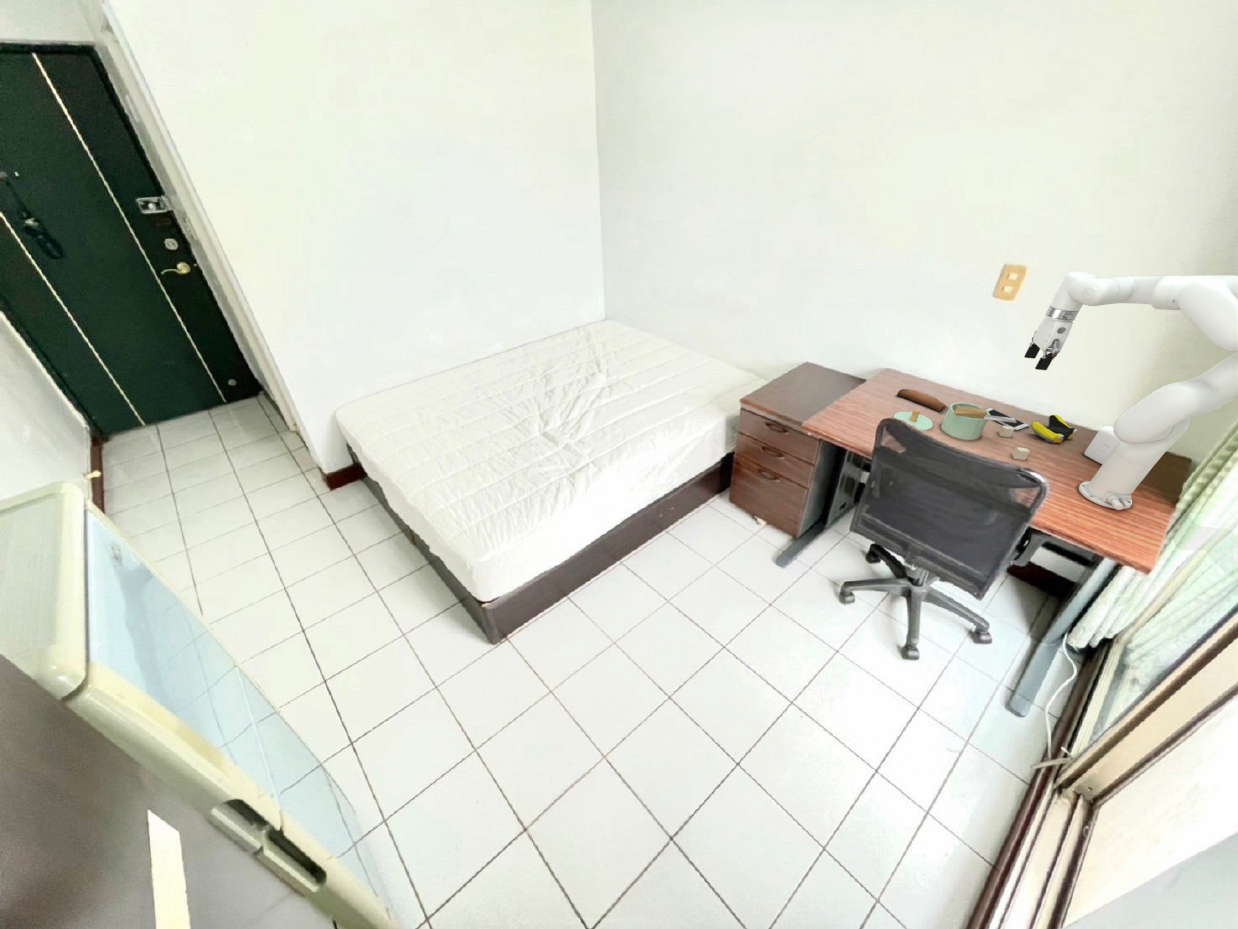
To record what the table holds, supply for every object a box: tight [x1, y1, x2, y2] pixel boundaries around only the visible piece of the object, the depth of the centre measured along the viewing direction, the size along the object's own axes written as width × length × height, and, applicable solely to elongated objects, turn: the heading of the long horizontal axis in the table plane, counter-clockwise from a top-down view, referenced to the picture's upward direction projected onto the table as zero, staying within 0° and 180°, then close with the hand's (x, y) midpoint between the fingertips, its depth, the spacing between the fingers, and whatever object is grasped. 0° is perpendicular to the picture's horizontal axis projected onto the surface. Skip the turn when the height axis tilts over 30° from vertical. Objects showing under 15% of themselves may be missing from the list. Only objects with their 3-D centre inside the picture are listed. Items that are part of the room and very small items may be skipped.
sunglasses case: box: [896, 388, 948, 414], centre depth 199 cm, size 18×7×7 cm
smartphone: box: [985, 407, 1029, 431], centre depth 188 cm, size 8×1×15 cm
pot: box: [940, 401, 990, 441], centre depth 179 cm, size 13×13×9 cm
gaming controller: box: [1030, 414, 1078, 444], centre depth 177 cm, size 15×6×10 cm
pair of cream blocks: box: [998, 425, 1030, 461], centre depth 172 cm, size 17×3×4 cm, turn 163°
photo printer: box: [1083, 425, 1120, 465], centre depth 162 cm, size 10×4×12 cm, turn 14°
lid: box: [892, 408, 934, 432], centre depth 185 cm, size 14×14×6 cm
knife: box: [954, 406, 1017, 423], centre depth 172 cm, size 3×19×3 cm, turn 73°
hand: (1034, 363), depth 163 cm, fingers open, 9 cm apart
